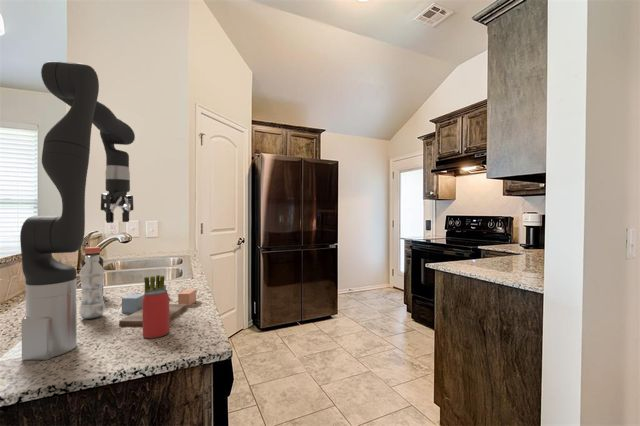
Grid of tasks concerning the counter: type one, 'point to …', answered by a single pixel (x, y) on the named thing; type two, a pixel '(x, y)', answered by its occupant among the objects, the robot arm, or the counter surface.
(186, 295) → the terracotta block
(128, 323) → the walnut board
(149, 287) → the fennel bulb
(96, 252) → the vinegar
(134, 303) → the smoky blue cube
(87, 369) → the counter surface
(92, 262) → the plastic bottle
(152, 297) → the beer can
